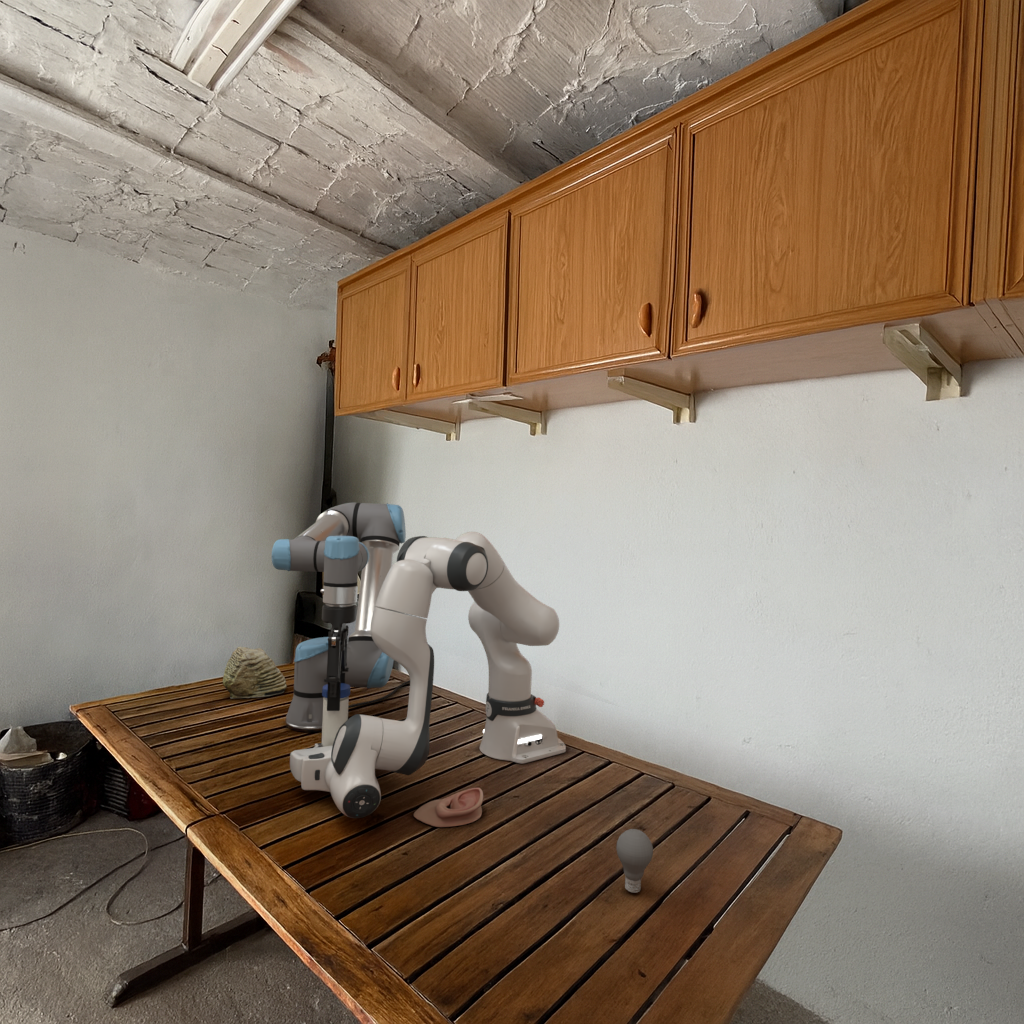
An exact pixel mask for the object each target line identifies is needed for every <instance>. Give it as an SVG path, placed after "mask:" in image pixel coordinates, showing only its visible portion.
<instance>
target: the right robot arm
mask: <svg viewBox="0 0 1024 1024" xmlns="http://www.w3.org/2000/svg"><path fill="white" fill-rule="evenodd" d="M437 589H444V590H455V591H457V592H468V594H469V595H470V597H471V598H472V599H473V602H472V604H471V605H470V608H469V609H468V615H467V616H468V618H467V620H468V625H469V627H470V629H471V630H472V631H473V632H474V633H475V635H476V636H477V637H478V639H479V641H480V643H481V644H482V646H483V650H484V652H485V656H486V659H487V667H488V691H487V693H486V697H485V717H486V718H485V725H484V729H483V730H482V733H483V734H482V738H481V741H480V744H479V747H478V748H479V751H480V752H481V754H483V755H485V756H487V757H489V758H492V759H495V760H499V761H508V762H509V761H510V762H513V763H515V764H516V763H517V764H522V765H523V764H527V763H531V762H534V761H538V760H542V759H545V758H549V757H553V756H556V755H557V756H558V755H561V754H564V753H566V752H567V746H566V744H565V742H564V741H563V740H562V739H560V738H559V737H558V731H557V727H556V725H555V723H554V722H553V721H552V720H551V719H550V718H549V717H547V715H545V714H544V713H542V711H541V710H539V709H538V708H542V707H544V705H545V700H544V699H542V698H541V697H537V696H535V695H533V694H532V680H533V679H532V678H533V668H532V665H531V663H530V661H529V660H528V658H526V657H525V656H524V655H523V653H522V652H521V651H520V649H519V647H518V645H523V646H529V647H541V646H542V647H543V646H545V647H546V646H549V645H550V644H552V643H553V642H554V640H555V639H556V638H557V636H558V635H559V631H560V618H559V615H558V613H557V612H556V610H555V609H554V608H553V607H551V606H549V605H547V604H546V603H543V602H542V601H540V600H539V599H537V597H536V596H534V595H532V594H531V593H530V592H529V591H528V590H526V589H525V587H523V586H522V585H521V584H520V583H519V582H518V581H517V579H515V577H514V576H513V574H512V572H511V571H510V570H509V567H508V566H507V565H506V562H505V561H504V559H503V558H502V556H501V555H500V553H499V551H498V550H497V549H496V547H495V546H494V545H493V544H492V542H491V541H490V540H489V539H488V538H487V537H486V536H485V535H484V534H482V533H481V532H478V531H467V532H464V533H461V534H460V535H459V536H457V537H456V538H455V539H453V538H449V537H448V538H447V537H436V536H435V537H434V536H433V537H432V536H430V537H429V536H425V535H419V536H413V537H410V538H408V539H407V540H405V542H404V543H402V545H401V546H400V548H399V550H398V553H397V556H396V562H394V563H392V566H391V568H390V570H389V572H388V574H387V576H386V578H385V580H384V582H383V585H382V587H381V590H380V592H379V595H378V598H377V601H376V605H375V606H378V607H375V608H374V612H373V616H372V621H371V628H370V632H371V636H372V639H373V641H374V643H375V644H376V646H377V647H378V648H379V649H380V650H381V651H382V652H383V653H385V654H386V655H387V656H389V657H390V658H392V659H393V660H394V662H396V663H397V664H399V665H400V666H402V668H404V669H405V671H406V672H407V674H408V676H409V680H410V683H409V691H408V692H409V693H408V701H407V702H408V703H407V712H406V718H405V719H404V720H395V719H389V718H383V717H379V716H375V715H374V716H373V715H367V714H360V713H355V714H354V715H352V716H351V717H348V720H347V721H346V722H345V723H344V724H343V725H342V726H341V727H340V728H339V730H338V732H337V734H336V736H335V739H334V743H333V746H326V747H323V745H322V742H318V743H314V746H313V747H310V748H304V749H303V748H302V749H294V750H293V751H291V752H290V753H289V770H290V773H291V774H292V776H293V777H294V779H295V780H296V781H298V782H300V786H301V789H302V790H304V791H322V792H328V793H330V796H331V798H332V800H333V802H334V804H335V806H336V808H337V809H338V811H339V812H340V813H342V814H343V816H346V817H347V818H351V819H363V818H365V817H368V816H370V815H371V814H372V813H374V812H375V811H376V810H377V809H378V808H379V805H380V803H381V799H382V793H381V787H380V783H379V780H378V778H377V777H376V770H379V771H380V770H381V771H389V772H391V773H394V774H395V773H396V774H400V775H405V776H410V775H411V776H412V774H414V773H416V772H417V771H419V770H420V769H421V768H422V767H423V766H424V765H425V764H426V762H427V760H428V758H429V753H430V742H431V741H430V740H431V739H430V737H431V736H430V722H431V721H430V720H431V710H432V699H433V698H432V697H433V688H434V675H435V673H434V672H435V652H434V648H433V647H432V646H431V645H430V644H429V642H428V640H427V634H426V633H427V629H426V628H427V622H428V618H429V614H430V608H431V603H432V597H433V594H434V593H435V591H436V590H437ZM379 607H382V608H379ZM383 608H385V609H383ZM537 707H538V708H537Z"/></svg>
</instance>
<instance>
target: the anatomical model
mask: <svg viewBox="0 0 1024 1024" xmlns="http://www.w3.org/2000/svg"><path fill="white" fill-rule="evenodd" d="M483 802H484V792H483V790H482V788H480V787H471V788H467V789H464V790H461V791H458V792H456V793H454V794H451V795H449V796H446V797H444V798H441V799H440V798H439V799H434V800H430V801H429V802H427V803H424V804H423V805H421V806H419V808H418V809H417V810H415V811H414V813H413V817H414V818H415V819H416V820H417V821H419V822H422V823H424V824H426V825H428V826H432V827H434V828H435V827H436V828H449V827H450V828H451V827H457V826H464V825H467V824H471V823H474V822H475V821H477V820H479V819H480V818H481V817H482V814H483V809H482V805H483Z"/></svg>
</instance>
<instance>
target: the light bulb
mask: <svg viewBox="0 0 1024 1024" xmlns="http://www.w3.org/2000/svg"><path fill="white" fill-rule="evenodd" d="M615 849H616V854H617V857H618V859H619V861H620V863H621V865H622V867H623V873H624V874H623V875H624V876H625V878H624V888H625V890H627V891H628V892H630V893H634V894H635V893H639V892H640V891H641V889H642V887H641V886H642V879H643V877H644V875H645V871H646V868H647V867H648V866H649V864H650V863H651V861H652V859H653V855H654V847H653V843H652V841H651V838H649V836H648V835H647V834H646V833H645V832H643V831H642V830H641V829H636V828H629V829H627V830H625V831H623V832H622V833H621V834H620V835H619V837H618V839H617V841H616V847H615Z"/></svg>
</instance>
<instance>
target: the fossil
mask: <svg viewBox="0 0 1024 1024" xmlns="http://www.w3.org/2000/svg"><path fill="white" fill-rule="evenodd" d="M222 676H223V677H222V685H223V687H224V688H225V690H226V691H228V693H229V698H230V699H250V698H264V697H271V696H275V695H281V694H284V693H285V691H286V689H287V687H288V686H287V680H286V678H285V676H284V674H283V673H282V672H281V669H279V668H278V667H277V665H276V663H275V662H274V660H273V659H272V658H271V657H270V656H269V655H268V654H267V653H266V652H265V650H264V649H263V648H260V647H258V648H251V647H247V646H246V647H245V646H238V647H237V648H236V649H235V650H233V651H232V653H231V656H230V657H229V659H228V660H227V663H226V666H225V668H224V671H223V675H222Z"/></svg>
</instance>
